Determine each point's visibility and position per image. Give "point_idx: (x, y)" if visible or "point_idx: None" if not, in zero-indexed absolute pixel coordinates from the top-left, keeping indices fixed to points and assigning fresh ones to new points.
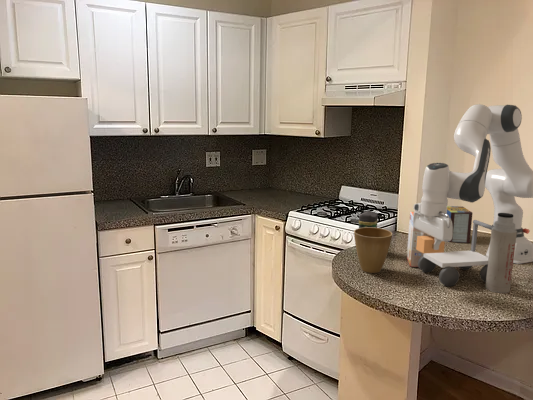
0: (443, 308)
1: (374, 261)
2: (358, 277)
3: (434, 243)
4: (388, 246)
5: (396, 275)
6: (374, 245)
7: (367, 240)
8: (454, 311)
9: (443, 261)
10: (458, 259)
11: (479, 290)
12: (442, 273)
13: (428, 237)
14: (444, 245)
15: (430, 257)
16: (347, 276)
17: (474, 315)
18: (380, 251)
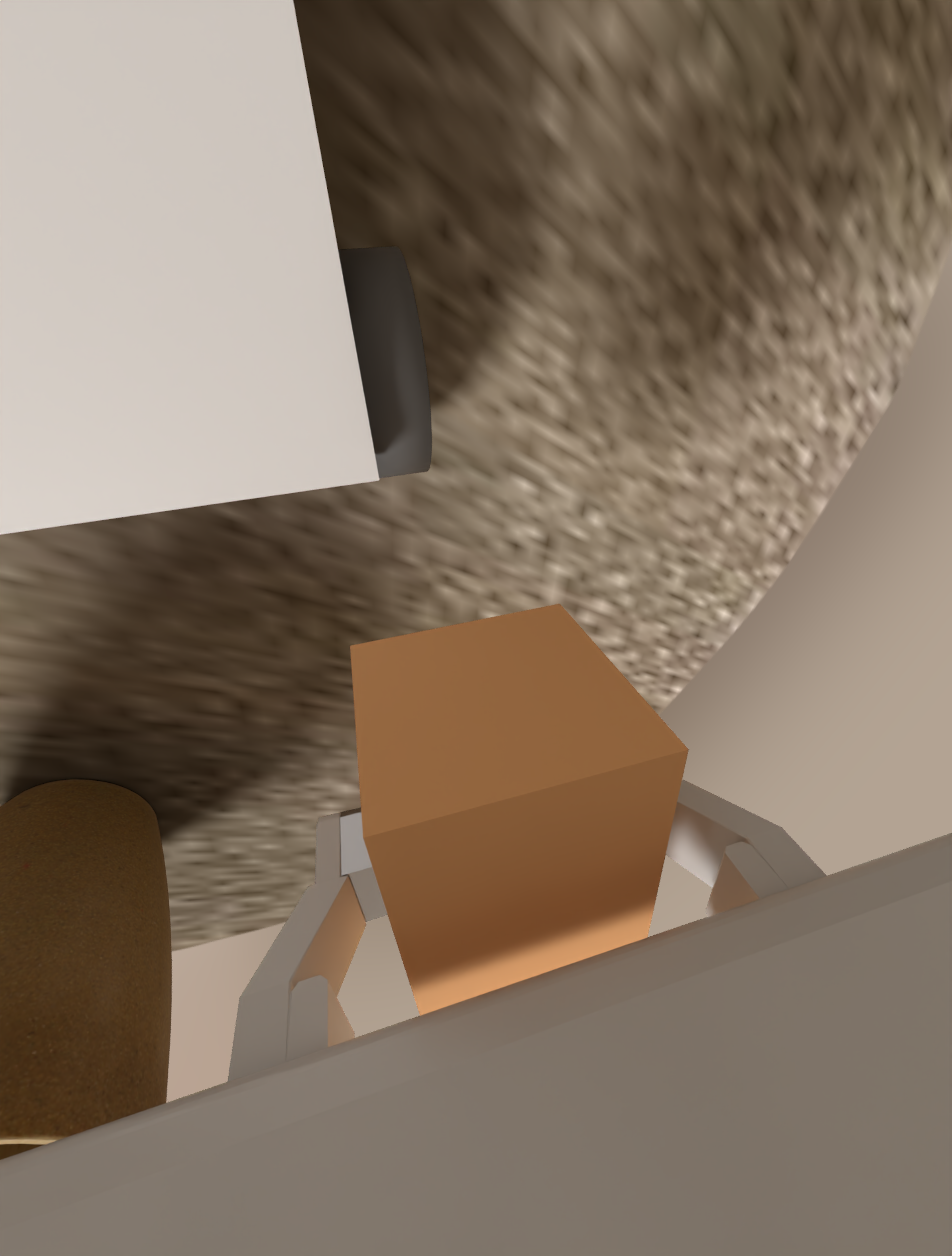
0: (701, 579)
1: (168, 899)
2: (259, 871)
3: (678, 853)
4: (55, 972)
5: (174, 696)
6: (167, 1065)
7: None
8: (746, 539)
9: (291, 427)
10: (125, 39)
11: (511, 76)
12: (416, 470)
13: (529, 958)
14: (612, 664)
15: (82, 519)
16: (251, 908)
17: (819, 456)
18: (155, 968)
